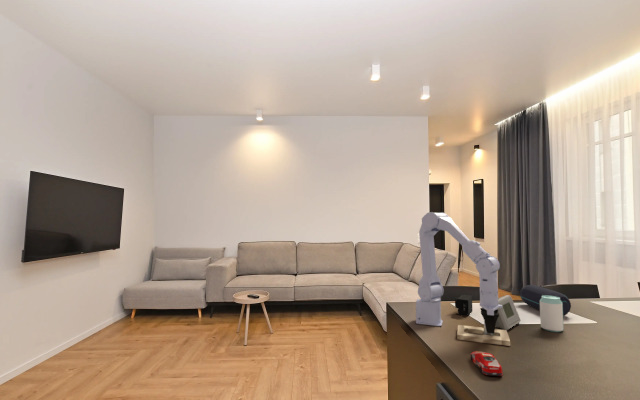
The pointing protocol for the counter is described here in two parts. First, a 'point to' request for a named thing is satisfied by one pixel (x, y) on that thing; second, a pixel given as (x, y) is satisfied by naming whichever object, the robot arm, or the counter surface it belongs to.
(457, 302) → the digital camera
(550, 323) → the can
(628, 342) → the counter surface
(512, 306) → the digital clock
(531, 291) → the portable speaker
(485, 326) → the peg
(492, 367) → the race car
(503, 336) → the keyhole board
